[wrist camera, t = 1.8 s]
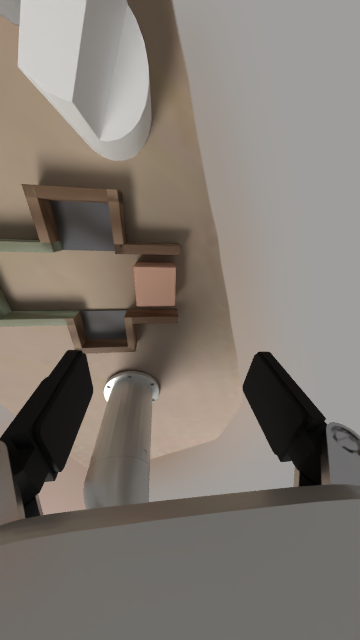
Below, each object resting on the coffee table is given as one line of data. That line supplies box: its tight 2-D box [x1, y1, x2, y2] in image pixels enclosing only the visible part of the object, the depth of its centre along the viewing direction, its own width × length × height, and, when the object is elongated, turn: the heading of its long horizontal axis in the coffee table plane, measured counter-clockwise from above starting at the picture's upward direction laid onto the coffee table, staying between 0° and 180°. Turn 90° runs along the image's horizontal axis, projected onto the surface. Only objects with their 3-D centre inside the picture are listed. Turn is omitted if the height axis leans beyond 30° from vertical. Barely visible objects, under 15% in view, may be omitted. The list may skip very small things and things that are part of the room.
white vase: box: [18, 0, 152, 161], centre depth 14 cm, size 9×9×12 cm
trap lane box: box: [0, 184, 180, 353], centre depth 27 cm, size 24×29×3 cm
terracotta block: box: [133, 262, 176, 306], centre depth 28 cm, size 6×6×4 cm
